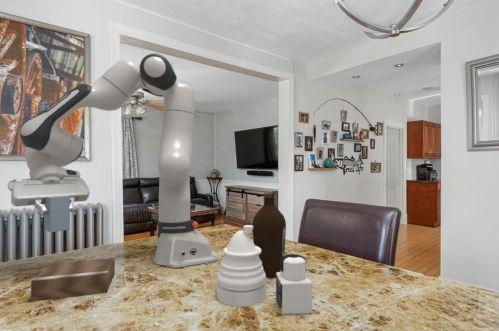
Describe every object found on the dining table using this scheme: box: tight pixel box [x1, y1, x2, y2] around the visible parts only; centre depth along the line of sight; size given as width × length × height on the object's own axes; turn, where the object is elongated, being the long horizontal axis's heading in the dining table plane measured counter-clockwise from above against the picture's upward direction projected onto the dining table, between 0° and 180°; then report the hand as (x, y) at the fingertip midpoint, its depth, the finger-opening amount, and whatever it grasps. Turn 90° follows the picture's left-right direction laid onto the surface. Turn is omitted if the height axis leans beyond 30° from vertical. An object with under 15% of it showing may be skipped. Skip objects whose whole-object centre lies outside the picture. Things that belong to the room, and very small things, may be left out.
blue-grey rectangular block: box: [43, 196, 71, 233], centre depth 87 cm, size 5×5×10 cm
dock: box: [30, 257, 116, 302], centre depth 80 cm, size 17×14×5 cm
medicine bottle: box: [275, 253, 313, 315], centre depth 68 cm, size 7×7×12 cm
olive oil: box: [251, 192, 287, 278], centre depth 91 cm, size 11×11×25 cm
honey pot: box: [216, 224, 267, 308], centre depth 75 cm, size 13×13×18 cm
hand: (57, 212), depth 86 cm, fingers closed on blue-grey rectangular block, 5 cm apart
